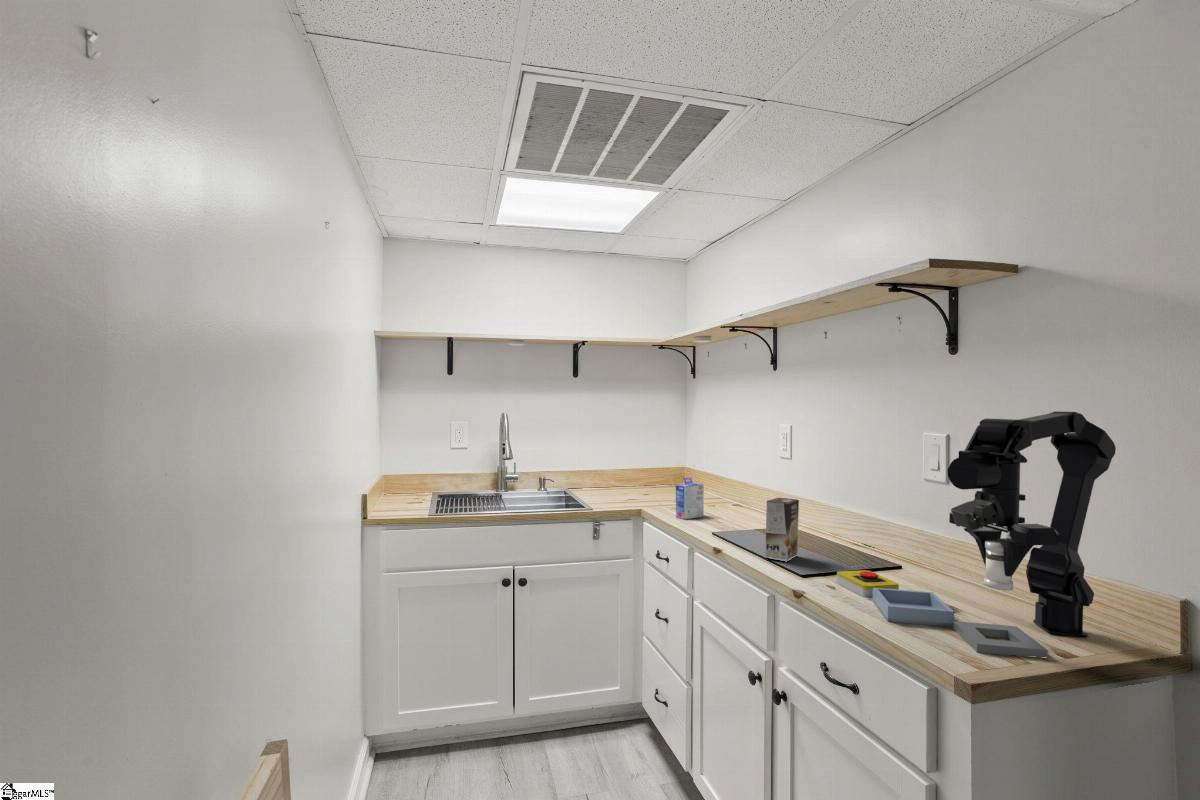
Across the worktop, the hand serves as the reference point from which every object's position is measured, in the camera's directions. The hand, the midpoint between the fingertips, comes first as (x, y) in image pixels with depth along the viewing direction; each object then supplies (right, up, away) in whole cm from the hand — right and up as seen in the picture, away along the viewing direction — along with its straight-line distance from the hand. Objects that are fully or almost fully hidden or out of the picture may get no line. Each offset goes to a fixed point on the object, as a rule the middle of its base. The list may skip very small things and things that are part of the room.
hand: (998, 572), depth 108 cm
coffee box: (-22, -13, +57) cm, 62 cm away
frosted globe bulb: (0, -3, 0) cm, 2 cm away
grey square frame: (0, -13, 0) cm, 13 cm away
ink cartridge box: (-40, -12, +111) cm, 119 cm away
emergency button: (-11, -13, +30) cm, 35 cm away
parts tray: (-8, -13, +14) cm, 21 cm away
